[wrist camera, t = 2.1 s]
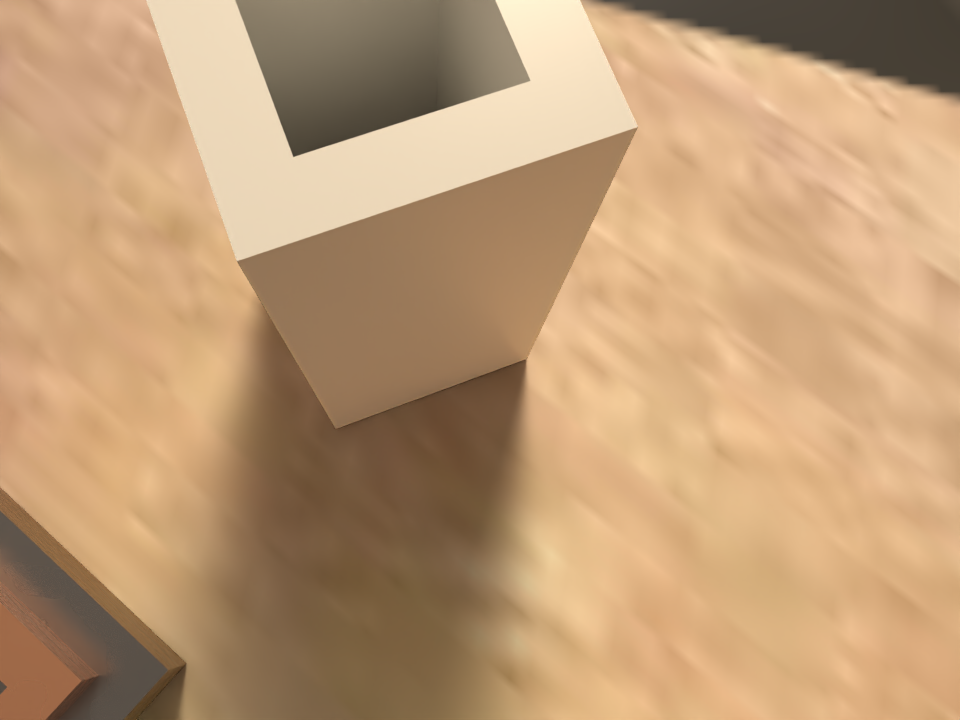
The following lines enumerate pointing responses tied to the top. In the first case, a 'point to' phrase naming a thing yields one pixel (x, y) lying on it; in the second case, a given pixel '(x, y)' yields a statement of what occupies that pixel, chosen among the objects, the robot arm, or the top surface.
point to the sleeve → (399, 174)
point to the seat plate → (68, 635)
